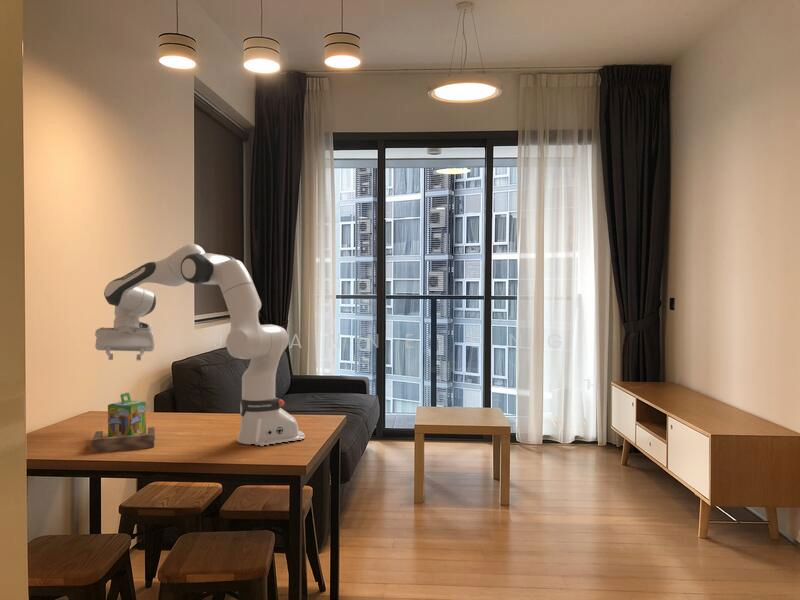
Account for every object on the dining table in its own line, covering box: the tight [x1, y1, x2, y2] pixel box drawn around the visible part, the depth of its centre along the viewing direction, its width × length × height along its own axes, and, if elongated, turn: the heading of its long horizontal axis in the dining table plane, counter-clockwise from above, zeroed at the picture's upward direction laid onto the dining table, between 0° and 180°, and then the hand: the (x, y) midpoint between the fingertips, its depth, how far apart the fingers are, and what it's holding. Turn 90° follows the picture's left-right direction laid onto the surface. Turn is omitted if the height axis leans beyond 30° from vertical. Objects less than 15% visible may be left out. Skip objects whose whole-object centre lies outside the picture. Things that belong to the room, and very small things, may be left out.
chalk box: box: [107, 392, 147, 437], centre depth 208 cm, size 9×9×15 cm
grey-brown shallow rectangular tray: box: [91, 426, 156, 453], centre depth 194 cm, size 18×12×4 cm, turn 111°
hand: (124, 359), depth 220 cm, fingers open, 8 cm apart
